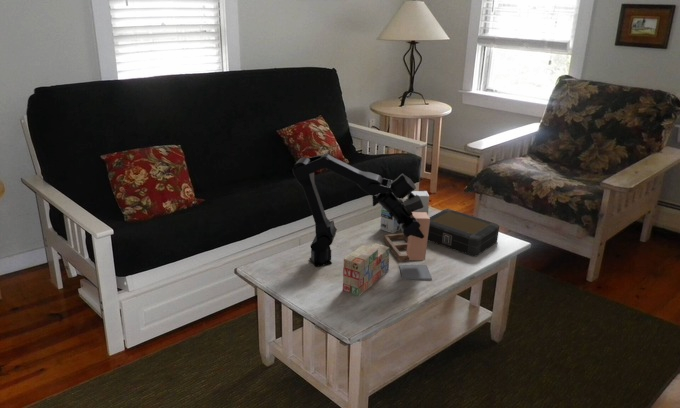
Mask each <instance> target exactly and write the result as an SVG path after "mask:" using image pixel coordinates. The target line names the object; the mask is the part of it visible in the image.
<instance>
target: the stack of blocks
mask: <svg viewBox="0 0 680 408" xmlns="http://www.w3.org/2000/svg"><path fill="white" fill-rule="evenodd" d="M390 251H391V249H390V248H389V247H388V246H386V245H381V244H378V243H376V242H375V243H373V244H372V245H371V246H367V245H363V244H361V245H360V246H359V247H358V248H357V249H356V250H354V251H353V252H351V253H349V255H346V257H343V268H342V269H343V271H342V276H343V277H342V278H343V279H342V291H343V292H345V293H349V294H351V295H354V296H357V297H359V296H361V295H362V294H363V293H364V292H365V291H367V290H368V289H369V288H370V287H372V286H373V284H375V283H376V281H378V280H379V279H380V278H382V277H383V276H384V275H385V274H386V273H388V271H390V270H389V267H390V265H389V264H390Z"/></svg>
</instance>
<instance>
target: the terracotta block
mask: <svg viewBox="0 0 680 408" xmlns="http://www.w3.org/2000/svg"><path fill="white" fill-rule="evenodd" d="M412 213H413V214H412V215H411V218H416V219H417V220H418V221H419V223H420V227H419V229H420V230H421V232H422V233H423V235H424V238H419V237H415V236H412V235H410V236H409V237H408V242H406V243H407V249H406V253H405V254H407V255H408V257H409V259H410V260H409V261H425V260H426V254H427V249H428V248H427V247H428V232H429V224H430V217H431V216H430V215H429V213H428V214H427V213H426V212H412Z"/></svg>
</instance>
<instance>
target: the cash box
mask: <svg viewBox="0 0 680 408" xmlns="http://www.w3.org/2000/svg"><path fill="white" fill-rule="evenodd" d="M429 217H430V224H429V232H428V240H427V242H432V243H434V244H436V245H439V246H442V247H444V248H445V247H446V248H448V249H451V250H453V251H456V252H459V253H463V254H465V255H468V256H471V257H478V256H479V255H481V254H482V253H483V252H485V251H486V250H488V249H489V248H491V247H492V246H493V245H494V244H497V242H498V239H499V232H500V224H498V223H495V222H492V221H488V220H486V219H482V218H479V217H475V216H473V215H470V214H466V213H463V212H460V211H457V210H453V209H450V208H445V209H442V210H441V211H439V212H438V213H435V214H433V215H431V216H429Z"/></svg>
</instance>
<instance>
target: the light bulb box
mask: <svg viewBox="0 0 680 408" xmlns="http://www.w3.org/2000/svg"><path fill="white" fill-rule="evenodd" d="M402 201H403V202H404V201H405V200H402ZM380 209H381V210H380V211H381V212H380V230H382V231H385V232H388V233H389V234H390V233H391V234H396V233H397V232H398V231H400V230H401V227H402V225H403V224H400V225H399V224H398V223H397V221H396V220H395V219H394V218H393V217H391V216H390V215H389V213H388V212H387V211H386V210H385V209H384V208H383V207H382V206H381V208H380Z"/></svg>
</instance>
